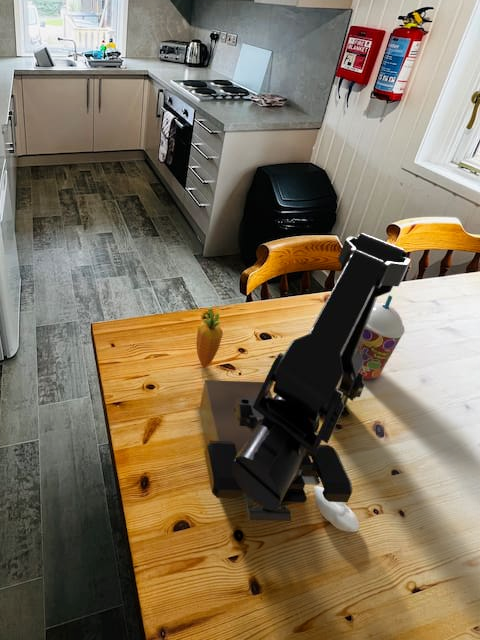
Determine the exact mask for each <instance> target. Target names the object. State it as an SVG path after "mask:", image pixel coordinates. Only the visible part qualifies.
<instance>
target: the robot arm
mask: <svg viewBox="0 0 480 640" xmlns="http://www.w3.org/2000/svg"><path fill="white" fill-rule="evenodd" d="M411 260H412V259H410V258H408V252H407V251H405V248H402V247H400V246H397V245H395V244H392V243H389V242H387V241H384V240H382V239H379V238H377V237H374V236H371V235H369V234H366V233H363V232H361V233H359V234H358V235H357V236H356V237H355V236H352V235H350V236H348V237H347V238H345V239H344V241H343V245H342V247H341V250H340V252H339V255H338V258H337V261H338V262H339V264H340V265H341V267H340V272H341V273H340V275H339V277H338V279H337V280H336V282H335V284H334V286H333V288H332V290H331V292H330V293H329V295H328V297H327V299H326V301H325V302H324V304H323V306H322V308H321V310H320V312H319V314H318V315H317V318H316V319H315V321H314V323H313V324H312V327H311V329H310V330H309V332H308V333H307V334H305V335H303V336H300V337H298V338H295V339H293V340H292V341H291V342H290V343H289V345H288V347H287V348H286V350H285V352H284V353H282V352H280V353H278V354H277V356H276V357H275V359H274V361H273V362H272V365H271V366H270V369H269V371H268V373H267V375H266V377H265V380H264V381H263V382H264V384H263V386H262V388H261V390H260V392H259V394H258V397H257V398H248V399H240V398H237V399H236V402H235V406H234V415H235V418H236V420H237V423H238V425H239V426H246V427H247V428H250V430H251V433H252V434H251V435H250V437H249V438H248V440H247V441H246V443H245V444H244V446H243V447H242V449H241V450H240V452H239V453H237V451H236V447H235V444H234V443H233V442H232V441H209V442H208V443H207V445H206V444H205V449H204V457H205V462H206V467H207V473H208V478H209V479H208V480H209V484H210V489H211V494H212V495H213V496H215V497H216V499H233V500H234V499H239V498H238V497H240V496H243V493H244V492H245V493H246V495H247V496H248V497H249V498H250V500H251V501H253V502H254V503H255V504H257V505H258V506H259V507H260V508H266V509H269V510H274V509H277V508H280V507H281V506H284V505H286V506H289V505H297V504H305V503H306V502H307V499H308V498H307V494H306V492H305V489H304V488H305V487H306V485H311V486H320V484H321V486H322V487H323V488H324V490H323V493H322V494H323V496H324V498H325V499H326V500H327V501H328V502H344V503H349V500H350V498H351V496H352V493H353V491H354V490H353V483H352V481H351V478H350V477H349V474H348V472H347V470H346V468H345V466H344V464H343V462H342V459H341V457H340V456H339V453H338V451H337V450H336V449H335V448H334V447H333V446H331V445H329V441H330V440H331V437H332V435H333V433H334V430H335V429H336V426H337V424H338V421H339V419H340V417H345V418H346V417H350V412H349V410H348V409H347V406H346V405H347V403H348V401H349V400H350V401H351V402H353V401H354V400H355V399H356V398H360V397H361V395H362V393H363V390H364V388H365V383H364V378H363V377H364V375H363V374H361V373H360V371H361V368H362V366H363V363H364V361H363V358H362V356H361V354H360V352H359V350H358V347H359V344H360V341H361V339H362V336H363V333H364V331H365V328H366V326H367V323H368V320H369V318H370V315H371V313H372V310H373V307H374V305H375V302H377V300H378V297H380V296H383V295H387V294H388V293H390V292H391V291H392V290H393V288H394V287H399V286H400V284H401V283H402V281H403V280H404V277H405V275H406V273H407V271H408V268H409V266H410V263H411ZM272 386H273V388H272ZM271 389H272V392H273V393H275V395H274V396H273V399H271V398H270V397H268V398H267V397H266V396H267V394H268V392H269V390H270V391H271ZM320 418H321V419H323V421H322V424H321V425H320V421H321V419H320ZM319 427H320V428H319ZM322 442H324V443H325V444H322Z"/></svg>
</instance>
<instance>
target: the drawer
mask: <svg viewBox="0 0 480 640" xmlns="http://www.w3.org/2000/svg"><path fill="white" fill-rule="evenodd" d="M237 499H243V500H245V504H246V516H247V520H248V521H253V522H254V521H255V522H256V521H258V522H259V521H260V522H292V520H293V519H292V518H293V517H292V512H291V510H290V508H287V505H284V506H280V507H278V508H277V509H274V510H269V509H266V508H262V507H253V503H252V500H251V499H250V498H249V497H248V496H247V495H246V493H245V492H244V493H243V496H240V497H238V498H237Z"/></svg>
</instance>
